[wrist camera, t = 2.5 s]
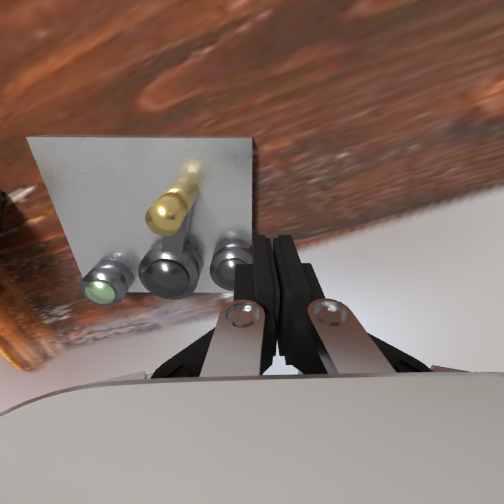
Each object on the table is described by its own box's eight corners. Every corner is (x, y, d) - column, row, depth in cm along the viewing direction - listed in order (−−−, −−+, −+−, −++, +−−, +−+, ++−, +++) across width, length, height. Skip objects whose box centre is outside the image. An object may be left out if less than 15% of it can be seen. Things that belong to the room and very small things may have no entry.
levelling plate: (258, 135, 20) (260, 143, 16) (256, 283, 27) (257, 311, 23) (40, 134, 20) (-6, 142, 16) (96, 282, 27) (72, 310, 23)
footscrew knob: (197, 290, 25) (183, 338, 20) (144, 279, 24) (116, 325, 19) (219, 186, 20) (208, 215, 15) (153, 169, 19) (118, 193, 14)
